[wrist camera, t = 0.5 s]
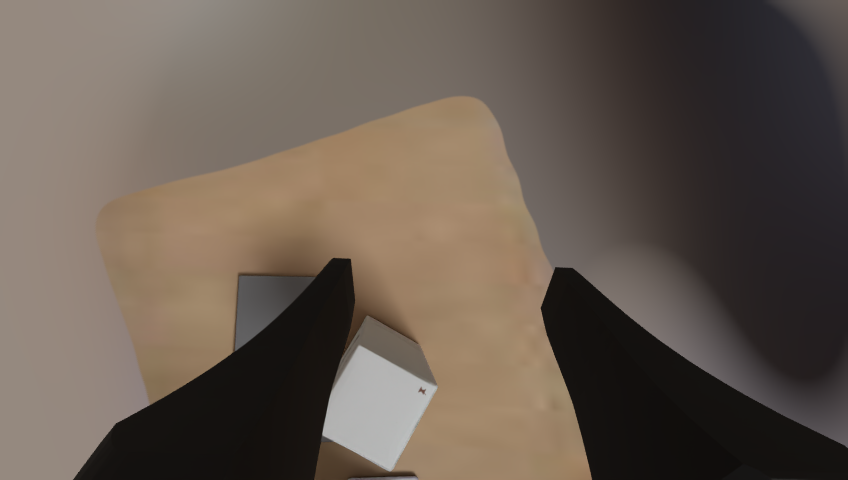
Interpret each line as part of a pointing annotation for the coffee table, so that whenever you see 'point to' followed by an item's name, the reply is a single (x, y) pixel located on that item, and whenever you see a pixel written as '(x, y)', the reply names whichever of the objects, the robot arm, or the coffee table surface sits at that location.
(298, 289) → the mat
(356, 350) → the supplement box
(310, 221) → the coffee table surface
